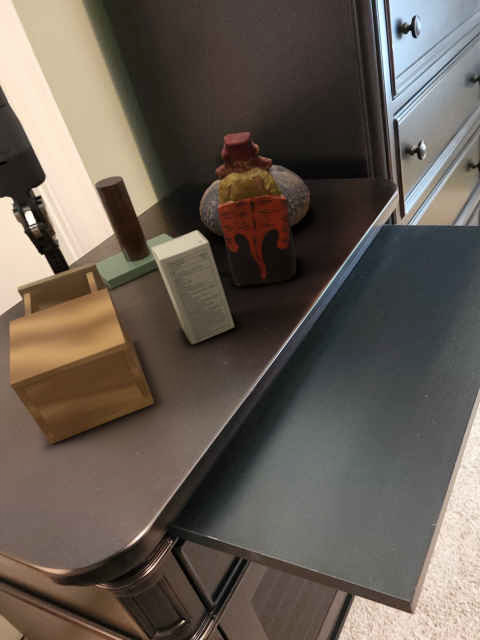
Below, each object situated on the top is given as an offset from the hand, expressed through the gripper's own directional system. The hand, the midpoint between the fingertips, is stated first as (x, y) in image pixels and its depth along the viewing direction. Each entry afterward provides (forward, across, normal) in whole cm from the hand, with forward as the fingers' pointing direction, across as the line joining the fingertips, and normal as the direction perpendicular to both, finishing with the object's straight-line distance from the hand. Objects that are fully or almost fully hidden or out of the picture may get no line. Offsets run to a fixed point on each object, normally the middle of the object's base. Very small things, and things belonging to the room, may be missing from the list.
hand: (63, 273), depth 77 cm
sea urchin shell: (+5, -6, +33) cm, 34 cm away
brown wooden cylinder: (+4, -6, +11) cm, 13 cm away
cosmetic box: (+5, +21, +15) cm, 26 cm away
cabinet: (+5, +24, 0) cm, 25 cm away
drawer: (+4, +11, 0) cm, 11 cm away
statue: (+5, +11, +26) cm, 29 cm away
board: (+5, -6, +11) cm, 14 cm away
